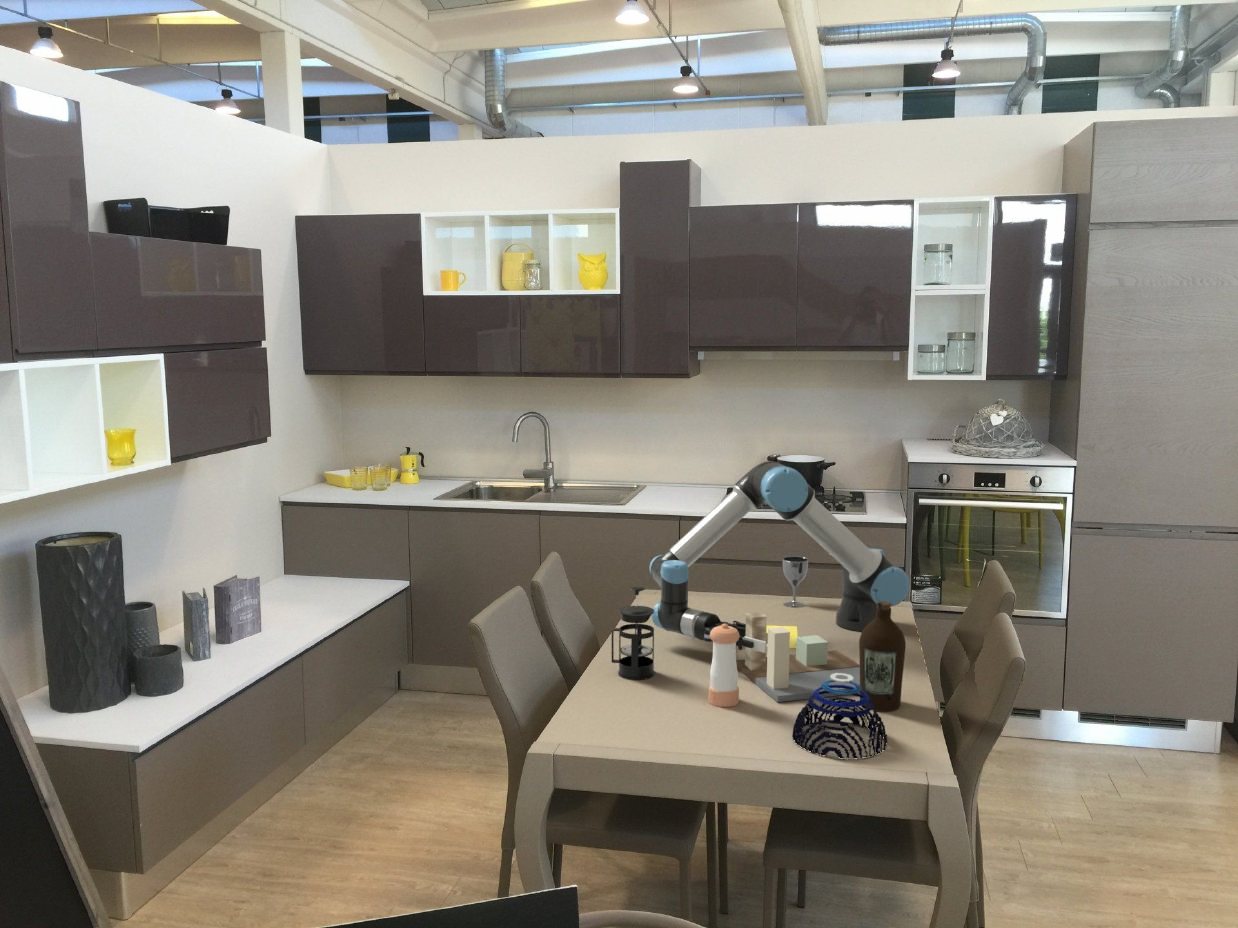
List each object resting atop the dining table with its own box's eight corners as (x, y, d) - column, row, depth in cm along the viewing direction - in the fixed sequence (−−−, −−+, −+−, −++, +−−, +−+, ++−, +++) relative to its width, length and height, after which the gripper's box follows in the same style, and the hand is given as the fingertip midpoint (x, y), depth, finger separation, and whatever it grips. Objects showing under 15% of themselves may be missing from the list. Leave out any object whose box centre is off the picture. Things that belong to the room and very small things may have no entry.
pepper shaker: (702, 698, 244) (704, 621, 241) (729, 693, 246) (730, 618, 244) (717, 708, 237) (718, 630, 234) (744, 704, 240) (746, 626, 237)
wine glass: (805, 601, 327) (807, 556, 325) (807, 608, 319) (809, 562, 317) (780, 600, 328) (782, 555, 326) (782, 607, 320) (783, 561, 318)
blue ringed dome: (802, 716, 233) (804, 656, 231) (891, 729, 226) (894, 667, 224) (783, 750, 214) (785, 685, 212) (880, 766, 207) (882, 699, 205)
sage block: (816, 656, 268) (817, 635, 268) (827, 664, 263) (827, 641, 262) (795, 658, 267) (796, 637, 266) (806, 666, 261) (806, 644, 260)
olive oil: (860, 693, 247) (863, 594, 243) (904, 699, 243) (909, 598, 239) (854, 709, 237) (857, 606, 233) (900, 715, 233) (905, 610, 230)
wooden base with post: (837, 655, 274) (838, 600, 272) (861, 671, 262) (863, 613, 260) (734, 665, 266) (735, 608, 264) (754, 682, 254) (755, 622, 251)
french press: (658, 668, 264) (659, 583, 261) (655, 680, 255) (656, 592, 252) (614, 666, 266) (614, 581, 262) (609, 678, 256) (609, 591, 253)
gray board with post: (862, 671, 261) (864, 614, 259) (888, 689, 249) (891, 628, 247) (755, 683, 253) (756, 623, 251) (777, 701, 241) (779, 639, 238)
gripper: (722, 631, 279) (793, 650, 263) (679, 646, 266) (750, 667, 250) (723, 604, 278) (793, 622, 262) (679, 619, 264) (751, 638, 249)
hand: (772, 644), depth 256 cm, fingers closed on wooden base with post, 5 cm apart
